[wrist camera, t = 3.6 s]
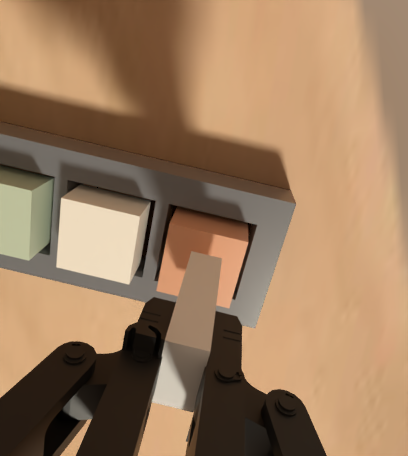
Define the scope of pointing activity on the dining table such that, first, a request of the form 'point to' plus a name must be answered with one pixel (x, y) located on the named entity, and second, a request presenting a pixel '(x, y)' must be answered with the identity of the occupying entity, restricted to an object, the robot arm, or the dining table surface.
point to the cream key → (102, 233)
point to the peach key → (203, 250)
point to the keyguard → (165, 199)
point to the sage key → (25, 212)
